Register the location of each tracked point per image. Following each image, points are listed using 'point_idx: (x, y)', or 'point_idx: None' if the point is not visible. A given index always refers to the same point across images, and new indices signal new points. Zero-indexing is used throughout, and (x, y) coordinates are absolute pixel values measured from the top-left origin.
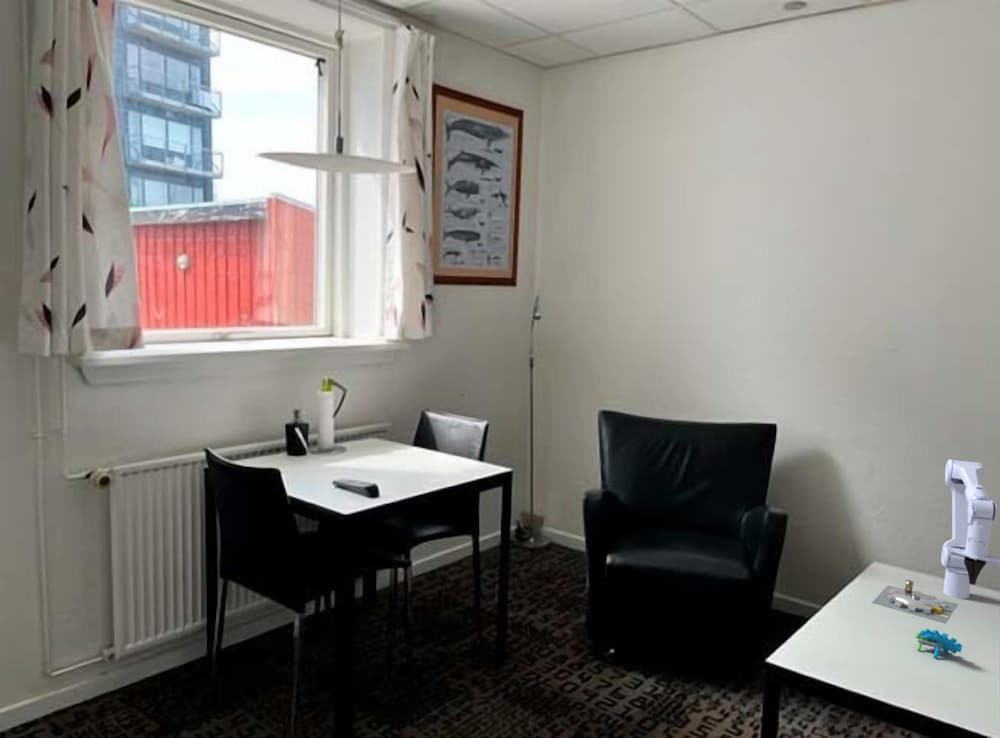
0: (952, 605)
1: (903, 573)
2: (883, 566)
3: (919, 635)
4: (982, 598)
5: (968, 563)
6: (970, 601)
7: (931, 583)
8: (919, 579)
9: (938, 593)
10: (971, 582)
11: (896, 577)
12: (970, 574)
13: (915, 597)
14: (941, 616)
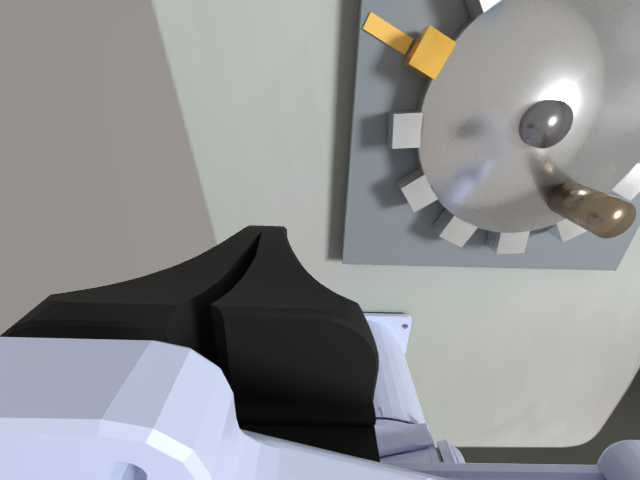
0: (360, 229)
1: (517, 428)
2: (575, 442)
3: None
4: None
5: (289, 305)
6: None
7: (435, 407)
8: (471, 414)
9: (412, 342)
10: (267, 227)
11: (546, 386)
12: (271, 252)
13: (553, 104)
14: (398, 7)
